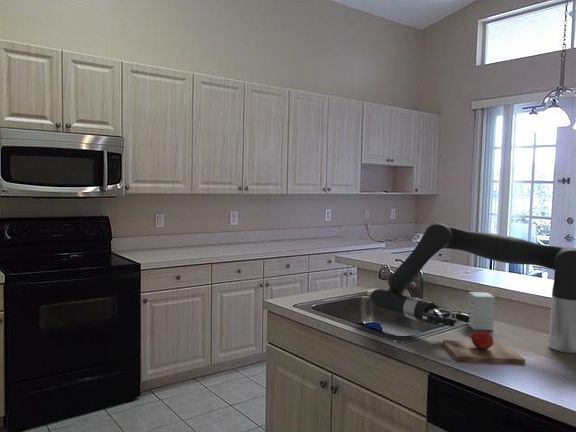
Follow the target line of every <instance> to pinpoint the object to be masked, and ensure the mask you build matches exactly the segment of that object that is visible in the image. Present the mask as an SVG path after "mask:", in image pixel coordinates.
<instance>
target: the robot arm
mask: <svg viewBox="0 0 576 432" xmlns="http://www.w3.org/2000/svg"><path fill="white" fill-rule="evenodd" d="M442 249H450V250H456V251H457V250H458V251H463V252H467V253H470V254H472V255H475V256H477V257H480V258H484V259H487V260H491V261H495V262H500V263H505V264H511V265H531V266H537V267H538V266H539V267H542V268H546V269H549V270H554V276H553V285H552V289H551V290H552V293H551V308H550V319H549V320H550V322H549V332H548V333H549V337H548V347H549V348H551V349H552V350H555V351H558V352H562V353H568V354H576V247H575V248H574V247H571V246H570V247H569V246H568V247H566V246H554V245H545V244H541V243H536V242H532V241H529V240H526V239H522V238H518V237H514V236H509V235H503V234H499V233H491V232H483V231H471V230H464V229H461V228H457V227H453V226H450V225H447V224H446V223H445V224H444V223H442V222H441V223H439V222H438V223H433V224H430V225H429V226H428V227H427V228H426V230H425V231H424V234H423V235H422V236H421V239H420V241H419V242H418V244H417V245H416V246H415V248H414V249H413V251H412V252H411V253H410V254H409V255H408V257H406V259H405V260H404V261H402V263H401V264H400V265H399V266H398V267H397V269H396V270H394V272H393V273H392V274H391V276H390V277H389V278H388V280H387V284H388V285H389V288H388V290H386V289H383V288H377V289H376V288H375V290H373V291H372V292H371V294H370V295H369V301H370V304H372V306H374V308H377V309H380V310H383V311H386V312H389V311H391V312H393V313H396V314H397V315H400V316H404V317H406V318H409V319H410V320H411V319H412V320H414V321H418V322H421V323H424V324H429V325H430V324H432V325H436V326H437V325H444V326H448V327H450V328H452V327H455V323H456V321H459V322H463V323H466V324H467V323H468V322H469V319H470V317H469V316H468V314H464V313H462V311H461V310H458V309H457V310H456V309H452V308H449V307H444V308H440V307H439V308H438V306H437V305H436V303H435V302H434V301H430V300H426V299H422V298H418V297H411V296H406V295H404V292H405V290H406V289H407V288H408V287H409V286H410V285H411V283H412V282H413V281H414V280H415V278H417V276H418V275H419V273H420V272H421V270H422V269H423V268H424V266H426V264H427V263H428V261H430V259H431V258H432V257H433V256H434V255H436V254H437V253H438V252H439V251H441V250H442Z"/></svg>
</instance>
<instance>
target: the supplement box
mask: <svg viewBox="0 0 576 432" xmlns="http://www.w3.org/2000/svg"><path fill="white" fill-rule="evenodd" d="M467 302H468V307H467V316H469V317H470V319H469V322H468V323H466V324H467V325H468V326H469V328H471V329H472V330H476V331H479V330H483V331H494V323H495V321H494V319H495V306H496V297H495V296H494V295H492V294H491V293H489V292H479V291H478V292H475V291H468V300H467Z"/></svg>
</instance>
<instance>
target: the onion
mask: <svg viewBox="0 0 576 432" xmlns="http://www.w3.org/2000/svg"><path fill="white" fill-rule="evenodd" d="M468 337H469V338H470V339H471V341H472V342H473V344H474V345H475V346H476V347H477V348H479V349H483V350H484V349H488V348H490V347H491V346H493V345H494V338H493V336H492V334H490V332H489V331H487V330H476V331H474V332H473V333H470V334H468Z"/></svg>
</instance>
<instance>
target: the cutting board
mask: <svg viewBox="0 0 576 432" xmlns="http://www.w3.org/2000/svg"><path fill="white" fill-rule="evenodd" d="M493 342H494V341H493ZM442 346H443V347H444V348H445V349H446V351H447V352H448V353H449V354H450V355H451V357H452V358H453V359H454V360H455V361H456V362H463V363H464V362H466V363H483V364H484V363H487V364H506V365H507V364H510V365H526V359H525V358H524V357H523V356H522V355H520V354H519V353H518V352H517V351H515V349H513V348H511V346H509V345H508V344H507V343H506V342H499V341H498V342H497V341H496V342H494V345H493V346H491V347H490V348H488V349H484V350H483V349H479V348H477V347H476V346H475V345H474V344H473V342H472V340H471V341H469V340H449V339H446V340H444V339H443V340H442Z"/></svg>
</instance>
